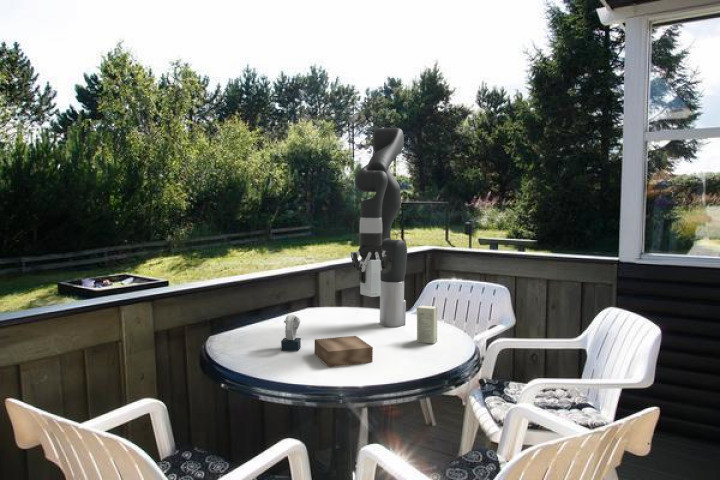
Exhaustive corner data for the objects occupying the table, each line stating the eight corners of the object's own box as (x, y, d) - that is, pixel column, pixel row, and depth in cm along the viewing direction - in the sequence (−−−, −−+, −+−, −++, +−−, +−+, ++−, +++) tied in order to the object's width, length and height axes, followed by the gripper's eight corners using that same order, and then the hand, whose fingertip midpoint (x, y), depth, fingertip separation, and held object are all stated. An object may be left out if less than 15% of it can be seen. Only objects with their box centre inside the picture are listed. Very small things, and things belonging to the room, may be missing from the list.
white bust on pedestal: (301, 345, 177) (301, 313, 176) (297, 352, 169) (297, 318, 168) (285, 345, 178) (285, 312, 177) (279, 352, 170) (279, 318, 169)
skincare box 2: (437, 341, 185) (438, 306, 184) (433, 344, 181) (434, 308, 180) (419, 338, 188) (420, 304, 187) (415, 341, 184) (416, 306, 183)
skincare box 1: (380, 296, 177) (382, 260, 176) (370, 297, 174) (371, 260, 173) (369, 293, 182) (370, 258, 181) (358, 294, 179) (360, 258, 178)
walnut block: (355, 350, 174) (355, 335, 174) (372, 363, 161) (372, 347, 161) (314, 354, 169) (314, 339, 168) (328, 368, 156) (328, 351, 155)
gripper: (385, 230, 183) (384, 279, 184) (346, 230, 177) (345, 281, 178) (395, 231, 176) (394, 282, 177) (355, 232, 170) (355, 285, 171)
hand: (370, 282), depth 178 cm, fingers closed on skincare box 1, 5 cm apart
